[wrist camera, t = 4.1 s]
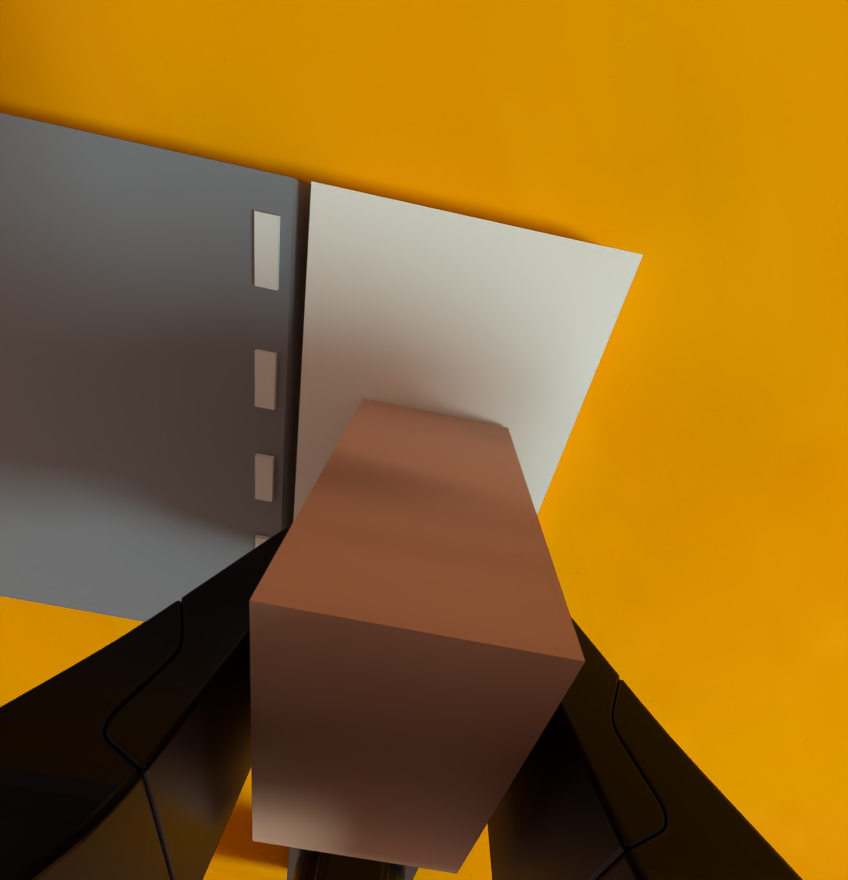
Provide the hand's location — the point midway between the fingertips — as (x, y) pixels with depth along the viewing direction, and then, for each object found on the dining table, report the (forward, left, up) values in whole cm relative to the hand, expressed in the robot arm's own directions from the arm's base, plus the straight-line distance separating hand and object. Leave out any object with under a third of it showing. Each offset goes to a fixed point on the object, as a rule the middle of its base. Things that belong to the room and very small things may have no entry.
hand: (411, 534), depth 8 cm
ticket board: (0, +9, -2) cm, 9 cm away
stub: (0, 0, -2) cm, 2 cm away
